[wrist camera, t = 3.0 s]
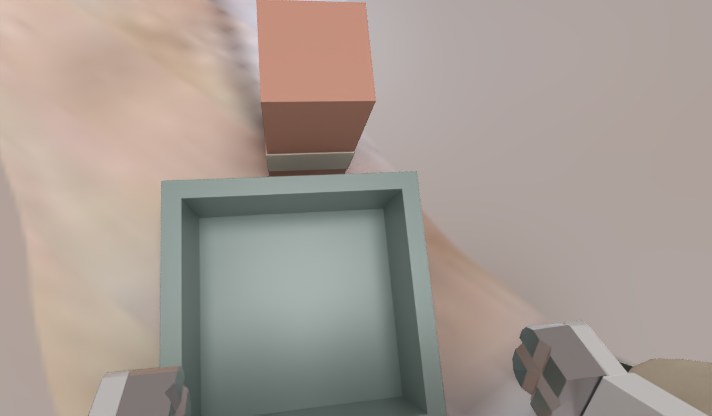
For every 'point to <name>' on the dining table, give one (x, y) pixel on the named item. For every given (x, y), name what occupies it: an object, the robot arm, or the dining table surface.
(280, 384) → the tray
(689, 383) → the character mug
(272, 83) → the salmon pink two-tone box
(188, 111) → the dining table surface
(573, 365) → the robot arm
